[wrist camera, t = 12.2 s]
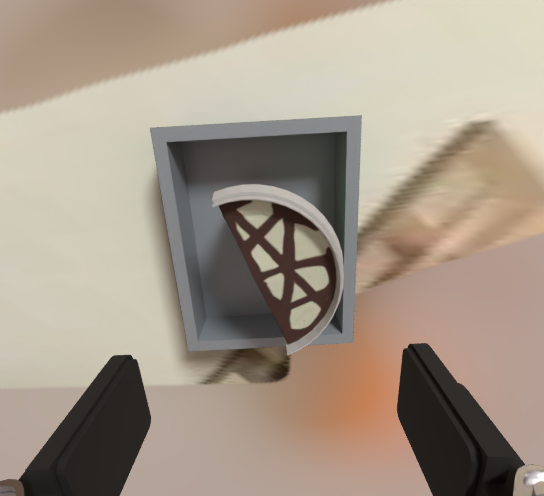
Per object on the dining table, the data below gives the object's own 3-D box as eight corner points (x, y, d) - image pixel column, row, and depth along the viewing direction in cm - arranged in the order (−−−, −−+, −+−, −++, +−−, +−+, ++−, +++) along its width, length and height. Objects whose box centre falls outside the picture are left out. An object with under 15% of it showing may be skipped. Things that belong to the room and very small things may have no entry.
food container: (342, 270, 30) (376, 330, 20) (283, 293, 30) (290, 361, 21) (294, 148, 26) (308, 152, 17) (229, 178, 27) (207, 197, 17)
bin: (344, 120, 26) (361, 115, 22) (340, 313, 32) (353, 342, 28) (171, 130, 26) (149, 127, 22) (200, 321, 33) (188, 351, 28)
